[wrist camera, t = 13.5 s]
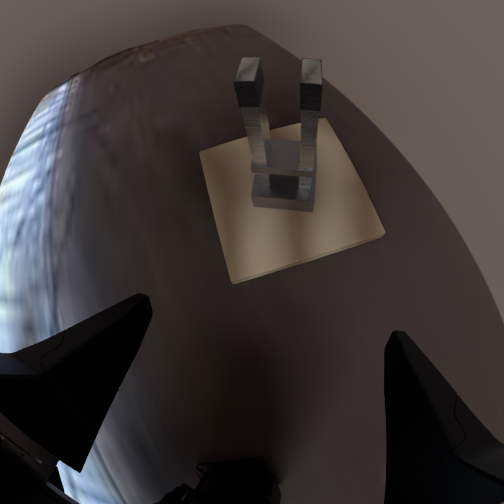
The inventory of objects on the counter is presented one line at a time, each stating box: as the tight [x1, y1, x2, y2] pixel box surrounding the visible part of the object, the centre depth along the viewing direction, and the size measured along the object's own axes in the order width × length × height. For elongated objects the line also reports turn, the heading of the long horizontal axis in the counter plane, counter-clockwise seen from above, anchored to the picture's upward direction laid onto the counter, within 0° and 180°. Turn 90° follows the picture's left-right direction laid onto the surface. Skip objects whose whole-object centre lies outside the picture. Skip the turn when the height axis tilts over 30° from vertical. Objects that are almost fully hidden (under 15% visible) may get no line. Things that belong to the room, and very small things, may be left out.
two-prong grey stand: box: [233, 57, 323, 212], centre depth 18 cm, size 5×5×13 cm
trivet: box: [199, 118, 385, 284], centre depth 25 cm, size 14×14×1 cm
